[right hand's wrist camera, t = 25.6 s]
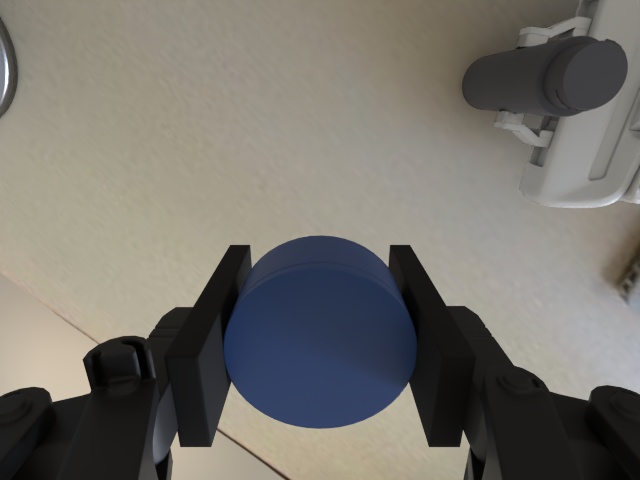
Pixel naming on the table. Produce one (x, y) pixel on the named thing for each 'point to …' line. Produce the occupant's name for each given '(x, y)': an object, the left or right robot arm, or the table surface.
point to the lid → (320, 334)
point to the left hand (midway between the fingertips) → (508, 80)
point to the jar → (548, 77)
